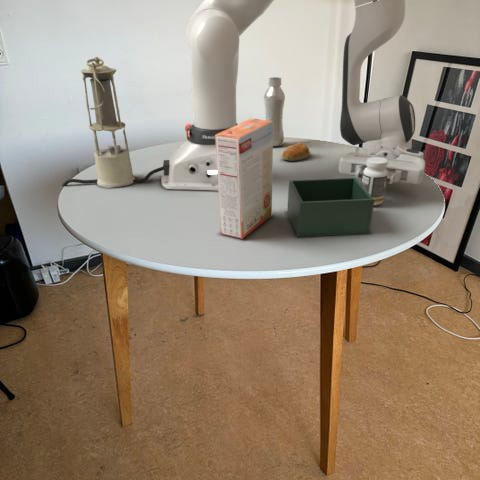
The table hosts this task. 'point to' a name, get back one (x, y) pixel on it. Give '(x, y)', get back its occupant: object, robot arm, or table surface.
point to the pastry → (296, 152)
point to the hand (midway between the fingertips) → (374, 178)
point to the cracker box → (244, 176)
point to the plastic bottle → (275, 109)
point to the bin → (329, 207)
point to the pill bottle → (375, 178)
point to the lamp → (107, 127)
